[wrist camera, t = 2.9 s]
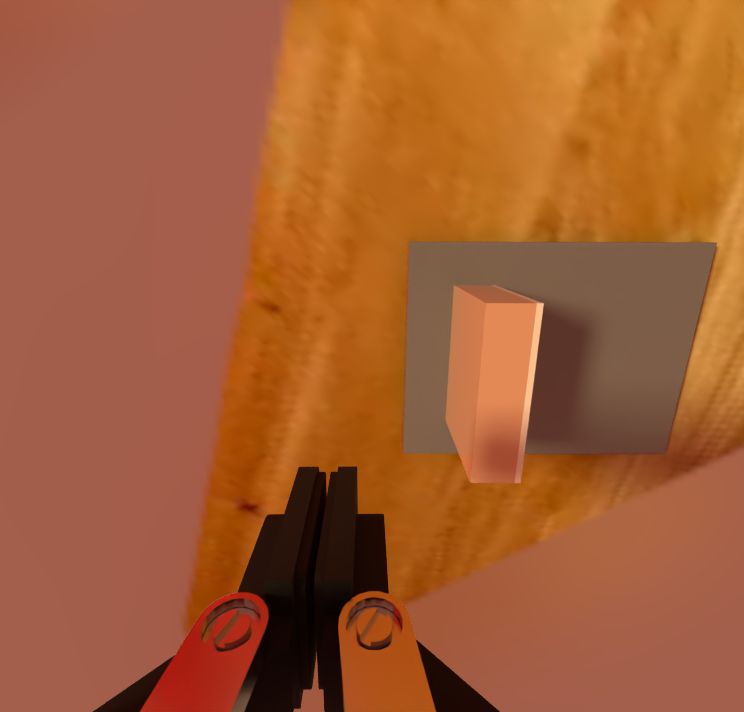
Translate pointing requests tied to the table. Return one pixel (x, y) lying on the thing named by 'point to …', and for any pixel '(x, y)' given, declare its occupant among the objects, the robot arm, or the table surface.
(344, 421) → the table surface
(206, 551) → the table surface
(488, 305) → the tile
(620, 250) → the board
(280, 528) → the robot arm
